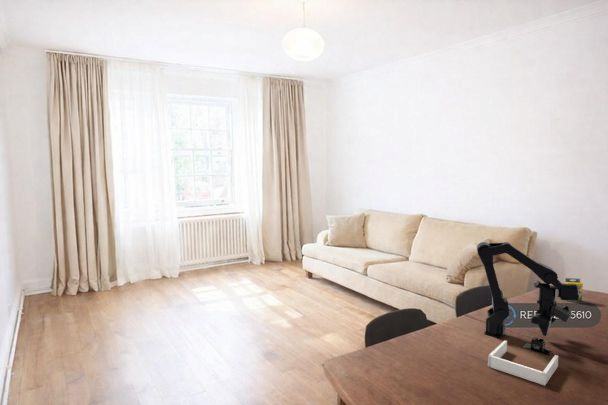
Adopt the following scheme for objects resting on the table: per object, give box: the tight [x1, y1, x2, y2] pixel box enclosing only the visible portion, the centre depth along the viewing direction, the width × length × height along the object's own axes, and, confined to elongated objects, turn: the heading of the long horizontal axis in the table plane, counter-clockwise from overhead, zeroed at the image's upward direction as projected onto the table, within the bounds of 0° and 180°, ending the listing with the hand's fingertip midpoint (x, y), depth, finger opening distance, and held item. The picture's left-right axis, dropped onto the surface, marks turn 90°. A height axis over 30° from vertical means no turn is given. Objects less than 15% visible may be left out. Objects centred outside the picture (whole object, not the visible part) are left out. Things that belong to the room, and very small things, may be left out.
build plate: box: [521, 336, 554, 356], centre depth 154 cm, size 12×7×5 cm, turn 43°
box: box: [487, 339, 559, 387], centre depth 141 cm, size 18×17×4 cm
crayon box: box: [564, 277, 584, 303], centre depth 207 cm, size 7×3×12 cm, turn 81°
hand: (544, 335), depth 162 cm, fingers closed
